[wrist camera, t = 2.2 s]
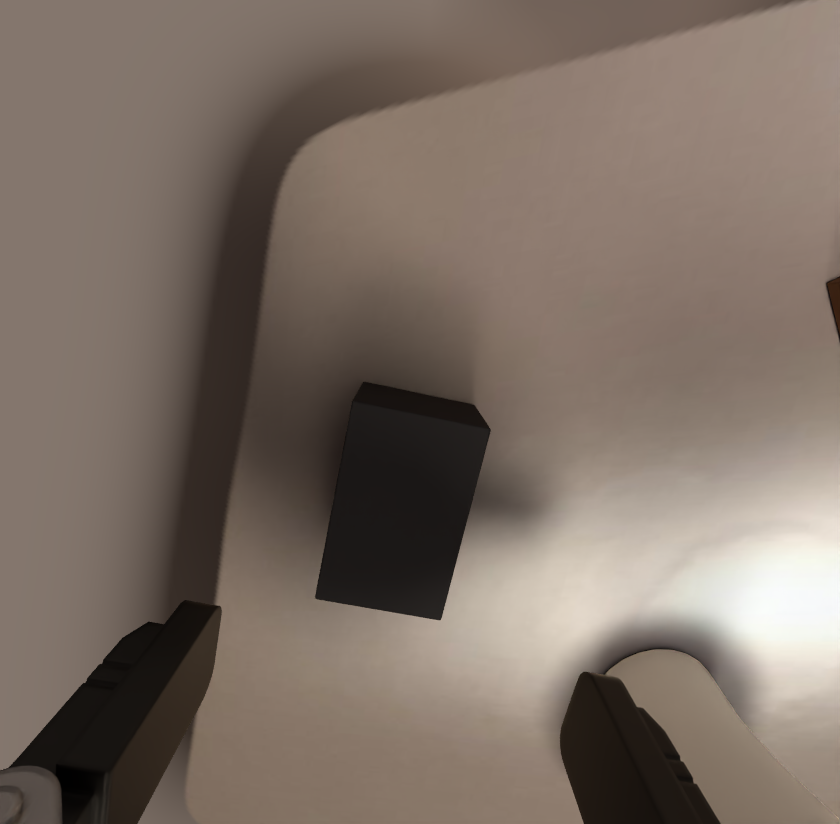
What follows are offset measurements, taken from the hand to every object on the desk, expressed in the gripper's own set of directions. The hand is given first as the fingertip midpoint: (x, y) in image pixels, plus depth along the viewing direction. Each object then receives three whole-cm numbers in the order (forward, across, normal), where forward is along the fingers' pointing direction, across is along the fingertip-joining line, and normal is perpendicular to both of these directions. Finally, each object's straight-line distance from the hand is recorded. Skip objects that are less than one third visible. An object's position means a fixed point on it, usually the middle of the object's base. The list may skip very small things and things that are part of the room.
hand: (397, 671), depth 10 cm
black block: (+11, 0, 0) cm, 11 cm away
